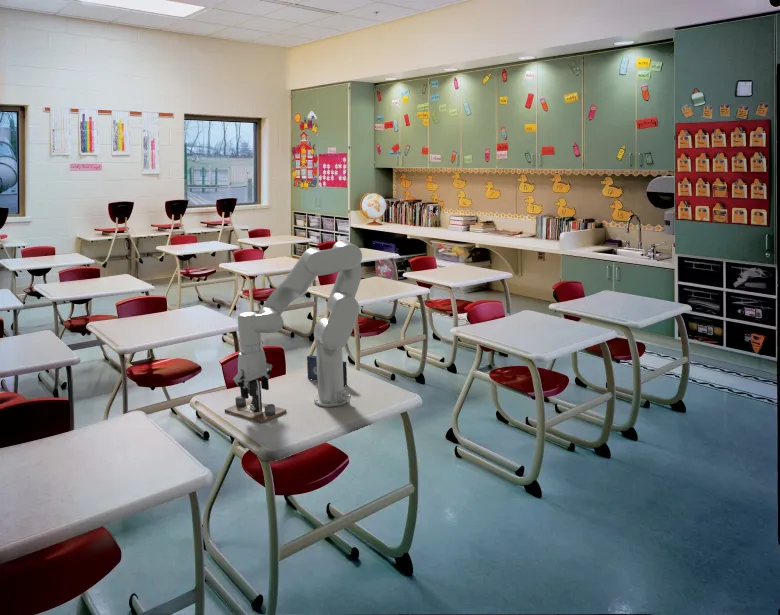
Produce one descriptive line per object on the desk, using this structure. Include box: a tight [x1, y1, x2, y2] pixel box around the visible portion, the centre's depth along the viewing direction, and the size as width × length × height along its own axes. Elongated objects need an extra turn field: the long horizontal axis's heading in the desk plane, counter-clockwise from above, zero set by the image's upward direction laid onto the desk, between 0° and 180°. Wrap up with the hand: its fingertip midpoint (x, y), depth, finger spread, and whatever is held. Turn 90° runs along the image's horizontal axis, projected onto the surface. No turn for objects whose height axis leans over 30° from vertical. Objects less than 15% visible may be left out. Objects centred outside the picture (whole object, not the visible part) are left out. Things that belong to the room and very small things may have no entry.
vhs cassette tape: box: [306, 354, 348, 387], centre depth 258 cm, size 18×3×10 cm, turn 57°
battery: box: [247, 378, 263, 412], centre depth 227 cm, size 7×4×11 cm, turn 27°
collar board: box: [224, 395, 287, 424], centre depth 229 cm, size 19×12×4 cm, turn 55°
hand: (255, 393), depth 228 cm, fingers open, 9 cm apart
